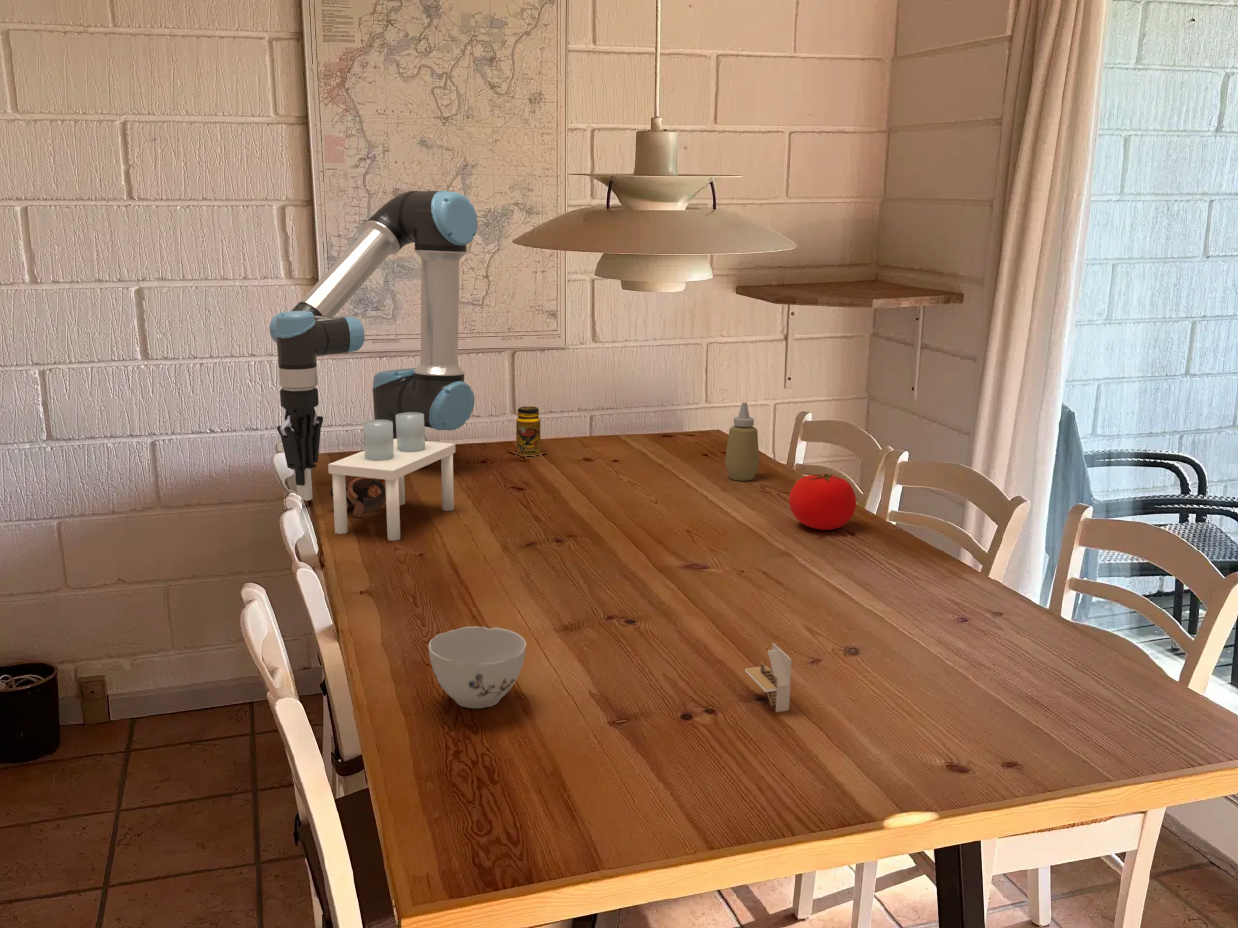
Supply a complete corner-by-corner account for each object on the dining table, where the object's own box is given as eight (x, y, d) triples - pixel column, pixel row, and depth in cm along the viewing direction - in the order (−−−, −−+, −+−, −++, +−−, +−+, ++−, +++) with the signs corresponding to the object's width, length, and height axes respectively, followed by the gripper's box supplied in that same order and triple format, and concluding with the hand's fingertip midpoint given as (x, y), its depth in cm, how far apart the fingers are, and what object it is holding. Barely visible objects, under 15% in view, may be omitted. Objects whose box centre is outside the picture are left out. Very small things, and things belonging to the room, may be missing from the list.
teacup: (535, 715, 141) (535, 656, 139) (436, 726, 137) (434, 666, 135) (513, 667, 155) (512, 613, 153) (422, 677, 151) (421, 622, 150)
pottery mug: (388, 506, 236) (393, 478, 231) (377, 537, 229) (382, 508, 223) (332, 492, 235) (336, 463, 229) (319, 522, 227) (323, 494, 222)
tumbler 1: (374, 453, 221) (373, 418, 219) (399, 455, 219) (398, 420, 217) (359, 459, 216) (357, 423, 214) (384, 461, 214) (383, 426, 212)
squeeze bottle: (735, 472, 266) (737, 398, 262) (765, 477, 262) (768, 402, 258) (717, 479, 260) (720, 403, 256) (748, 484, 255) (751, 407, 251)
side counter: (397, 501, 238) (395, 438, 234) (456, 508, 233) (455, 443, 230) (331, 533, 215) (328, 464, 211) (395, 541, 210) (392, 470, 207)
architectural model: (765, 716, 142) (767, 662, 140) (744, 694, 149) (746, 642, 147) (789, 713, 143) (792, 659, 141) (767, 691, 150) (770, 639, 148)
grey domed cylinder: (405, 444, 228) (404, 411, 227) (430, 446, 227) (428, 412, 225) (392, 450, 223) (390, 416, 221) (417, 452, 221) (415, 418, 220)
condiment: (523, 458, 278) (523, 411, 275) (506, 452, 285) (506, 406, 282) (548, 454, 282) (548, 408, 279) (531, 448, 289) (530, 403, 286)
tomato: (865, 532, 220) (869, 478, 217) (807, 538, 215) (810, 483, 213) (834, 516, 231) (837, 464, 228) (778, 522, 226) (780, 469, 224)
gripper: (302, 381, 234) (307, 489, 240) (263, 391, 222) (270, 505, 228) (332, 384, 232) (337, 493, 237) (295, 394, 220) (301, 508, 225)
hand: (304, 498), depth 233 cm, fingers closed
